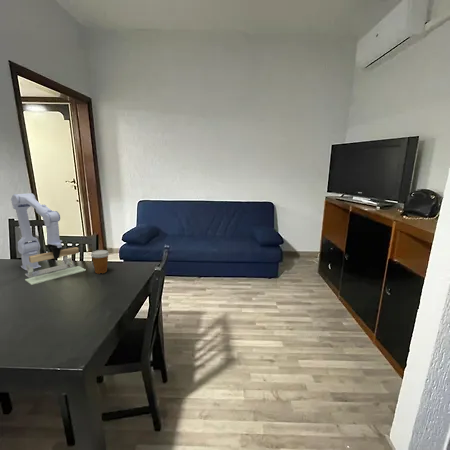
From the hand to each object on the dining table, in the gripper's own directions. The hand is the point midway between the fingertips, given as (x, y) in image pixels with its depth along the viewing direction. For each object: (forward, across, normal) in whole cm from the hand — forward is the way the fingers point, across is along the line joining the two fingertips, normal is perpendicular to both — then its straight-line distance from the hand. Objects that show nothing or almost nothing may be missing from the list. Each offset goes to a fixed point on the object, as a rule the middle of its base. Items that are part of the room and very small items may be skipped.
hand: (55, 257), depth 157 cm
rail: (0, 0, 0) cm, 0 cm away
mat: (+10, 0, 0) cm, 10 cm away
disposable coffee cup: (+11, -12, -19) cm, 25 cm away
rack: (+10, +10, 0) cm, 14 cm away
